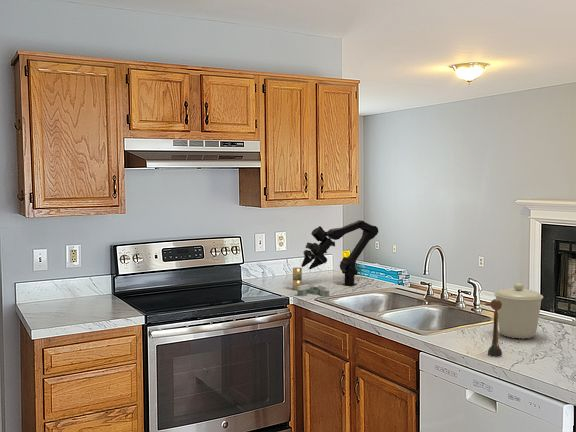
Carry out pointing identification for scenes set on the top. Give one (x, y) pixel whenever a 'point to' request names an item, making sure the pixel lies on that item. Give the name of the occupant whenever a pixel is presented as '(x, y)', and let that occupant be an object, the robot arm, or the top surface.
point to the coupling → (297, 278)
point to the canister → (518, 311)
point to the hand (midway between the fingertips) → (305, 267)
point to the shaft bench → (312, 290)
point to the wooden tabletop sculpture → (495, 329)
